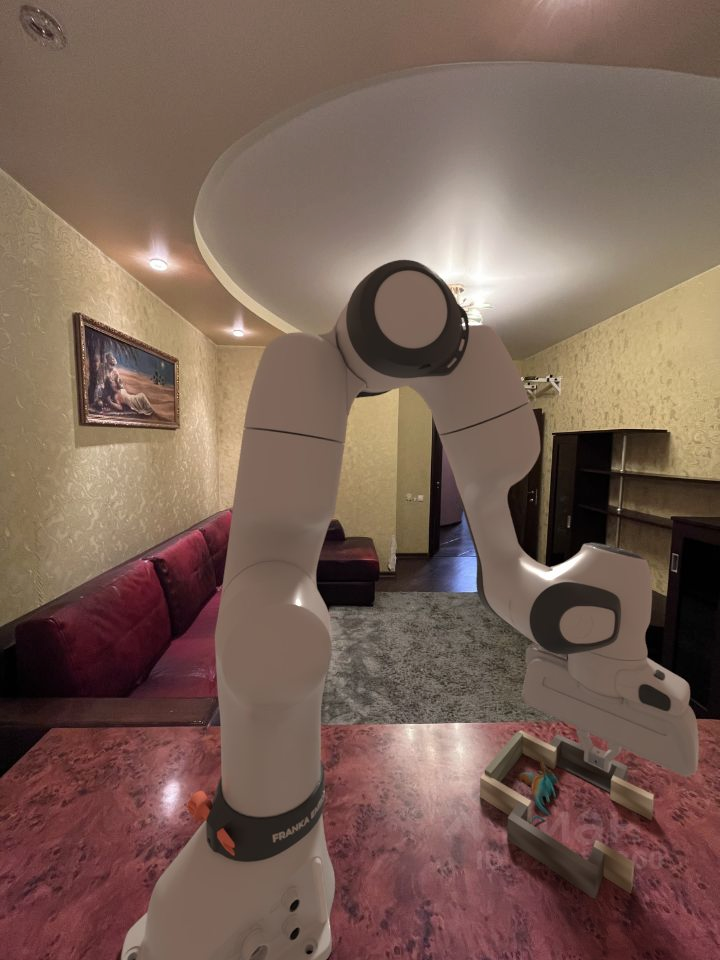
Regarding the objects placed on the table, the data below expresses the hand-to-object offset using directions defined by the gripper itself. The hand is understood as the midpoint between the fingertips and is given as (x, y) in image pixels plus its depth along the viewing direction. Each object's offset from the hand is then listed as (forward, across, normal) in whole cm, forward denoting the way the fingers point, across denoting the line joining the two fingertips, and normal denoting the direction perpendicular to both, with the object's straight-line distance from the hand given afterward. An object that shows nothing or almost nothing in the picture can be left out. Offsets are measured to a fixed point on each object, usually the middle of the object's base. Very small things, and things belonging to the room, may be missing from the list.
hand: (597, 764), depth 55 cm
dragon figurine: (+10, -7, 0) cm, 12 cm away
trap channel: (+9, -4, +1) cm, 10 cm away
